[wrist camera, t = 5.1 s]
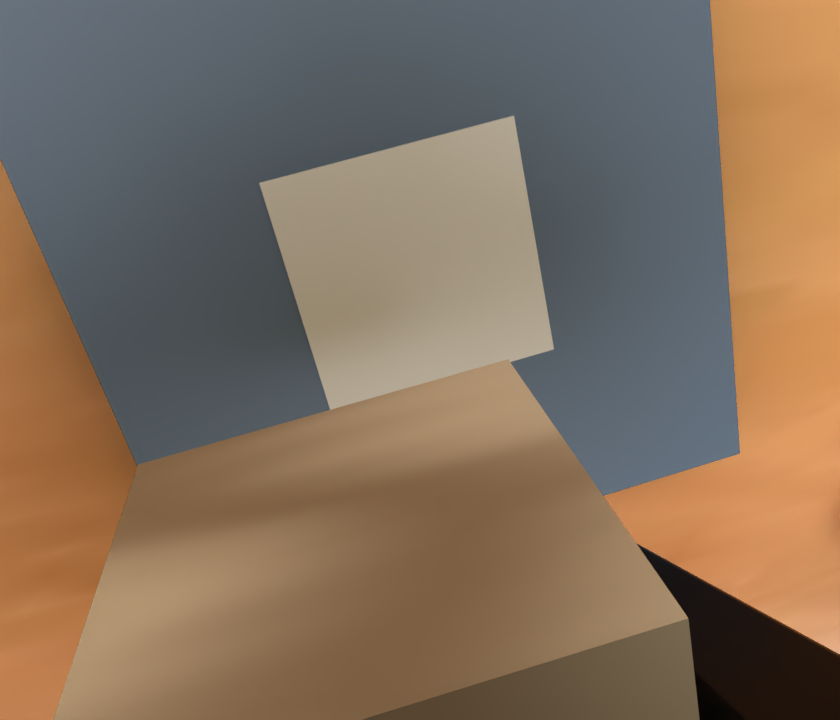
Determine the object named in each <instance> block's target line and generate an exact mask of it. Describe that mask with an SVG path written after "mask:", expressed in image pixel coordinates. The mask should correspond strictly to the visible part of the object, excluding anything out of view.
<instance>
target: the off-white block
mask: <svg viewBox="0 0 840 720" xmlns="http://www.w3.org/2000/svg"><path fill="white" fill-rule="evenodd" d="M53 720H700V719H699V710H698V701H697V692H696V683H695V674H694V665H693V655H692V646H691V637H690V628H689V619H688V617H687V616H686V614H685V613H684V611H683V610H682V608H681V607H680V605H679V604H678V603H677V601H676V600H675V598H674V597H673V595H672V594H671V593H670V591H669V590H668V588H667V587H666V585H665V584H664V582H663V581H662V580H661V578H660V577H659V575H658V574H657V572H656V571H655V570H654V568H653V567H652V565H651V564H650V562H649V561H648V560H647V558H646V557H645V555H644V554H643V552H642V551H641V549H640V548H639V547H638V545H637V544H636V542H635V541H634V539H633V538H632V537H631V535H630V534H629V532H628V531H627V529H626V528H625V526H624V525H623V524H622V522H621V521H620V519H619V518H618V516H617V515H616V514H615V512H614V511H613V509H612V508H611V506H610V505H609V503H608V502H607V501H606V499H605V498H604V496H603V495H602V493H601V492H600V491H599V489H598V488H597V486H596V485H595V483H594V482H593V481H592V479H591V478H590V476H589V475H588V473H587V472H586V470H585V469H584V468H583V466H582V465H581V463H580V462H579V460H578V459H577V458H576V456H575V455H574V453H573V452H572V450H571V449H570V447H569V446H568V445H567V443H566V442H565V440H564V439H563V437H562V436H561V435H560V433H559V432H558V430H557V429H556V427H555V426H554V424H553V423H552V422H551V420H550V419H549V417H548V416H547V414H546V413H545V412H544V410H543V409H542V407H541V406H540V404H539V403H538V401H537V400H536V399H535V397H534V396H533V394H532V393H531V391H530V390H529V389H528V387H527V386H526V384H525V383H524V381H523V380H522V379H521V377H520V376H519V374H518V373H517V371H516V370H515V368H514V367H513V366H512V364H511V363H510V361H509V360H508V359H507V360H503V361H500V362H496V363H493V364H489V365H486V366H482V367H479V368H475V369H472V370H468V371H465V372H461V373H458V374H454V375H451V376H447V377H444V378H440V379H437V380H433V381H429V382H426V383H422V384H419V385H415V386H412V387H408V388H405V389H401V390H398V391H394V392H391V393H387V394H384V395H380V396H377V397H373V398H370V399H366V400H363V401H359V402H356V403H352V404H349V405H345V406H342V407H338V408H335V409H331V410H328V411H324V412H321V413H317V414H314V415H310V416H307V417H303V418H300V419H296V420H293V421H289V422H286V423H282V424H279V425H275V426H272V427H268V428H265V429H261V430H258V431H254V432H250V433H247V434H243V435H240V436H236V437H233V438H229V439H226V440H222V441H219V442H215V443H212V444H208V445H205V446H201V447H198V448H194V449H191V450H187V451H184V452H180V453H177V454H173V455H170V456H166V457H163V458H159V459H156V460H152V461H149V462H145V463H142V464H138V467H137V470H136V473H135V476H134V479H133V482H132V485H131V488H130V491H129V494H128V497H127V500H126V503H125V506H124V509H123V512H122V515H121V518H120V521H119V524H118V527H117V530H116V533H115V536H114V539H113V542H112V545H111V548H110V551H109V554H108V557H107V560H106V563H105V566H104V569H103V572H102V575H101V578H100V581H99V584H98V587H97V590H96V593H95V596H94V599H93V602H92V605H91V608H90V611H89V614H88V617H87V620H86V623H85V626H84V629H83V632H82V635H81V638H80V641H79V644H78V647H77V650H76V653H75V656H74V659H73V662H72V665H71V668H70V671H69V674H68V677H67V680H66V683H65V686H64V689H63V692H62V695H61V698H60V701H59V704H58V707H57V710H56V713H55V716H54V719H53Z"/></svg>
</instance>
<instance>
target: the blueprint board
mask: <svg viewBox="0 0 840 720" xmlns="http://www.w3.org/2000/svg"><path fill="white" fill-rule="evenodd" d="M0 159H1V161H2V164H3V166H4V168H5V170H6V173H7V175H8V177H9V179H10V182H11V184H12V186H13V188H14V191H15V193H16V195H17V197H18V200H19V202H20V204H21V206H22V209H23V211H24V213H25V215H26V218H27V220H28V222H29V224H30V227H31V229H32V231H33V233H34V236H35V238H36V240H37V242H38V244H39V247H40V249H41V251H42V253H43V256H44V258H45V260H46V262H47V265H48V267H49V269H50V271H51V274H52V276H53V278H54V280H55V283H56V285H57V287H58V289H59V292H60V294H61V296H62V298H63V301H64V303H65V305H66V307H67V310H68V312H69V314H70V316H71V319H72V321H73V323H74V325H75V328H76V330H77V332H78V334H79V337H80V339H81V341H82V343H83V346H84V348H85V350H86V352H87V355H88V357H89V359H90V361H91V364H92V366H93V368H94V370H95V373H96V375H97V377H98V379H99V381H100V384H101V386H102V388H103V390H104V393H105V395H106V397H107V399H108V402H109V404H110V406H111V408H112V411H113V413H114V415H115V417H116V420H117V422H118V424H119V426H120V429H121V431H122V433H123V435H124V438H125V440H126V442H127V444H128V447H129V449H130V451H131V453H132V456H133V458H134V460H135V462H136V465H137V467H138V464H142V463H145V462H149V461H152V460H156V459H159V458H163V457H166V456H170V455H173V454H177V453H180V452H184V451H187V450H191V449H194V448H198V447H201V446H205V445H208V444H212V443H215V442H219V441H222V440H226V439H229V438H233V437H236V436H240V435H243V434H247V433H250V432H254V431H258V430H261V429H265V428H268V427H272V426H275V425H279V424H282V423H286V422H289V421H293V420H296V419H300V418H303V417H307V416H310V415H314V414H317V413H321V412H324V411H328V410H331V409H335V408H338V407H342V406H345V405H349V404H352V403H356V402H359V401H363V400H366V399H370V398H373V397H377V396H380V395H384V394H387V393H391V392H394V391H398V390H401V389H405V388H408V387H412V386H415V385H419V384H422V383H426V382H429V381H433V380H437V379H440V378H444V377H447V376H451V375H454V374H458V373H461V372H465V371H468V370H472V369H475V368H479V367H482V366H486V365H489V364H493V363H496V362H500V361H503V360H507V359H508V360H509V361H510V363H511V364H512V366H513V367H514V368H515V370H516V371H517V373H518V374H519V376H520V377H521V379H522V380H523V381H524V383H525V384H526V386H527V387H528V389H529V390H530V391H531V393H532V394H533V396H534V397H535V399H536V400H537V401H538V403H539V404H540V406H541V407H542V409H543V410H544V412H545V413H546V414H547V416H548V417H549V419H550V420H551V422H552V423H553V424H554V426H555V427H556V429H557V430H558V432H559V433H560V435H561V436H562V437H563V439H564V440H565V442H566V443H567V445H568V446H569V447H570V449H571V450H572V452H573V453H574V455H575V456H576V458H577V459H578V460H579V462H580V463H581V465H582V466H583V468H584V469H585V470H586V472H587V473H588V475H589V476H590V478H591V479H592V481H593V482H594V483H595V485H596V486H597V488H598V489H599V491H600V492H601V493H602V495H603V496H604V495H607V494H610V493H614V492H617V491H620V490H623V489H627V488H630V487H633V486H636V485H639V484H643V483H646V482H649V481H652V480H656V479H659V478H662V477H665V476H669V475H672V474H675V473H678V472H682V471H685V470H688V469H691V468H694V467H698V466H701V465H704V464H707V463H711V462H714V461H717V460H720V459H724V458H727V457H730V456H733V455H736V454H740V448H739V433H738V418H737V403H736V388H735V373H734V358H733V342H732V327H731V312H730V297H729V282H728V267H727V252H726V237H725V222H724V207H723V192H722V177H721V162H720V147H719V132H718V117H717V102H716V87H715V72H714V57H713V42H712V27H711V12H710V0H0Z"/></svg>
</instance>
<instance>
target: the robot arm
mask: <svg viewBox="0 0 840 720" xmlns="http://www.w3.org/2000/svg"><path fill="white" fill-rule="evenodd" d="M637 545H638V544H637ZM638 547H639V548H640V549H641V551H642V552H643V554H644V555H645V557H646V558H647V560H648V561H649V562H650V564H651V565H652V567H653V568H654V570H655V571H656V572H657V574H658V575H659V577H660V578H661V580H662V581H663V582H664V584H665V585H666V587H667V588H668V590H669V591H670V593H671V594H672V595H673V597H674V598H675V600H676V601H677V603H678V604H679V605H680V607H681V608H682V610H683V611H684V613H685V614H686V616H687V617H688V619H689V628H690V637H691V646H692V655H693V665H694V674H695V683H696V692H697V701H698V710H699V719H700V720H840V654H838V653H836V652H834V651H832V650H830V649H829V648H827V647H825V646H823V645H821V644H819V643H818V642H816V641H814V640H812V639H810V638H809V637H807V636H805V635H803V634H801V633H799V632H798V631H796V630H794V629H792V628H790V627H788V626H787V625H785V624H783V623H781V622H779V621H777V620H776V619H774V618H772V617H770V616H768V615H766V614H765V613H763V612H761V611H759V610H757V609H755V608H754V607H752V606H750V605H748V604H746V603H744V602H743V601H741V600H739V599H737V598H735V597H733V596H732V595H730V594H728V593H726V592H724V591H722V590H721V589H719V588H717V587H715V586H713V585H711V584H710V583H708V582H706V581H704V580H702V579H700V578H699V577H697V576H695V575H693V574H691V573H689V572H688V571H686V570H684V569H682V568H680V567H678V566H677V565H675V564H673V563H671V562H669V561H668V560H666V559H664V558H662V557H660V556H658V555H657V554H655V553H653V552H651V551H649V550H647V549H646V548H644V547H642V546H640V545H638Z"/></svg>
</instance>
